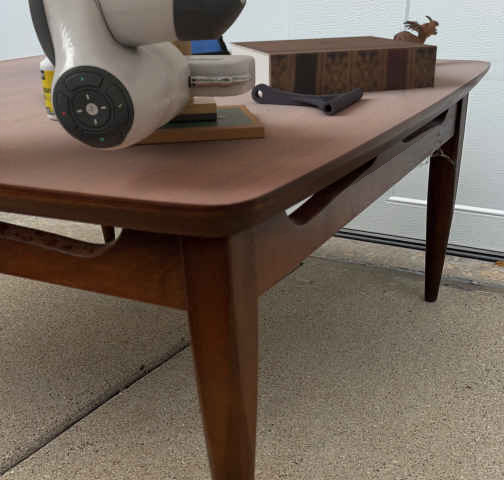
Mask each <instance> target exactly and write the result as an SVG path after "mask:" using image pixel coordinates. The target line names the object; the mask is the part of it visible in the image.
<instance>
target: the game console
mask: <svg viewBox="0 0 504 480" xmlns="http://www.w3.org/2000/svg"><path fill="white" fill-rule="evenodd" d="M191 53H192V55H231V52H230V51H229V50H228V47H227V44H226V42H225V41H224V36H223V35H222V36H221V37H220V38H219V39H217V40H200V41H191Z"/></svg>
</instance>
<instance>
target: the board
mask: <svg viewBox="0 0 504 480" xmlns="http://www.w3.org/2000/svg"><path fill="white" fill-rule="evenodd" d="M265 137H266V127H265V126H264V125H263V124H262V123H261V121H260V120H259V119H258V118H257V117H256V116H255V115H254V114H253V113H252V112H251V111H250V109H249V108H248V107H247V106H246V105H245V104H232V105H231V104H229V105H217V120H201V121H181V122H167V123H166V124H165V125H163V126H162V127H160V128H158V129H157V130H156V131H155V132H153V133H152V134H151V135H149V136H148V137H146V138H145V139H143V140H141V141H139V142H137V143H135V144H133V145H134V146H135V145H148V144H151V145H152V144H165V143H167V144H169V143H183V142H185V143H187V142H204V141H205V142H206V141H218V140H219V141H220V140H222V141H223V140H238V139H239V140H241V139H258V138H259V139H260V138H265Z"/></svg>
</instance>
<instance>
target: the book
mask: <svg viewBox="0 0 504 480" xmlns="http://www.w3.org/2000/svg"><path fill="white" fill-rule="evenodd" d="M229 45H230V46H231V55H249V56H252V57H254V59H255V86H256V85H258V84H261V83H263V84H266V85H268V86H271V87H274V88H277V89H280V90H283V91H286V92H292V93H298V94H304V95H331V94H345V93H347V92H350V91H352V90H354V89H356V88H361V89H362V90H363V93H373V92H375V93H376V92H386V91H387V92H388V91H402V90H415V88H417V89H427V87H431V88H434V86H435V76H436V67H437V66H436V65H437V54H438V45H433V44H426V43H424V44H421V43H414V42H407V41H401V40H394V39H393V38H387V37H380V36H375V35H374V36H373V35H362V36H361V35H360V36H359V35H358V36H341V37H340V36H339V37H338V36H337V37H318V38H296V39H295V38H294V39H277V40H276V39H275V40H274V39H273V40H255V41H254V40H253V41H234V42H233V41H231V42H229ZM258 94H260V95H262V92H261V91H260V90H259V92H258Z"/></svg>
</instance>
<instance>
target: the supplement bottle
mask: <svg viewBox="0 0 504 480" xmlns="http://www.w3.org/2000/svg"><path fill="white" fill-rule="evenodd" d="M42 52H43V54H44V55H45V53H44V51H43V50H42ZM39 69H40V77H41V83H42V84H41V85H42V88H43V89H42V90H43V98H44V103H45V111H46V115H47V118H48V119H50V120H51V121H52V120H53V121H58V120H57V118H56V116H55V113H54V110H53V106H52V102H51V86H52V80H53V77H54V72H55V67H54V66H53V65H52V63H51V62H50V60H49V59H48V58H47V56H46V55H45V59H44V58H43V60H41V61H40V63H39Z"/></svg>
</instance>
